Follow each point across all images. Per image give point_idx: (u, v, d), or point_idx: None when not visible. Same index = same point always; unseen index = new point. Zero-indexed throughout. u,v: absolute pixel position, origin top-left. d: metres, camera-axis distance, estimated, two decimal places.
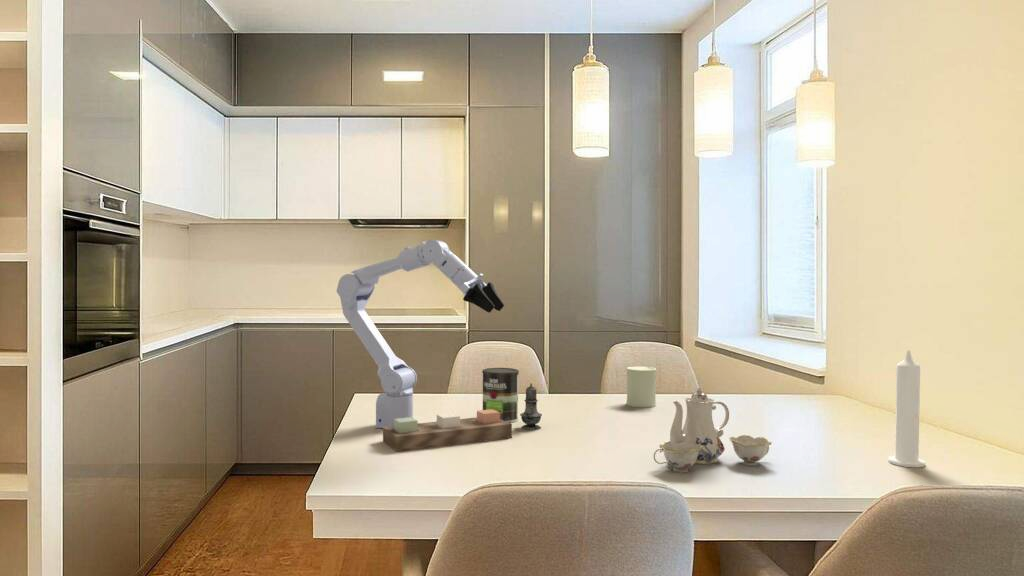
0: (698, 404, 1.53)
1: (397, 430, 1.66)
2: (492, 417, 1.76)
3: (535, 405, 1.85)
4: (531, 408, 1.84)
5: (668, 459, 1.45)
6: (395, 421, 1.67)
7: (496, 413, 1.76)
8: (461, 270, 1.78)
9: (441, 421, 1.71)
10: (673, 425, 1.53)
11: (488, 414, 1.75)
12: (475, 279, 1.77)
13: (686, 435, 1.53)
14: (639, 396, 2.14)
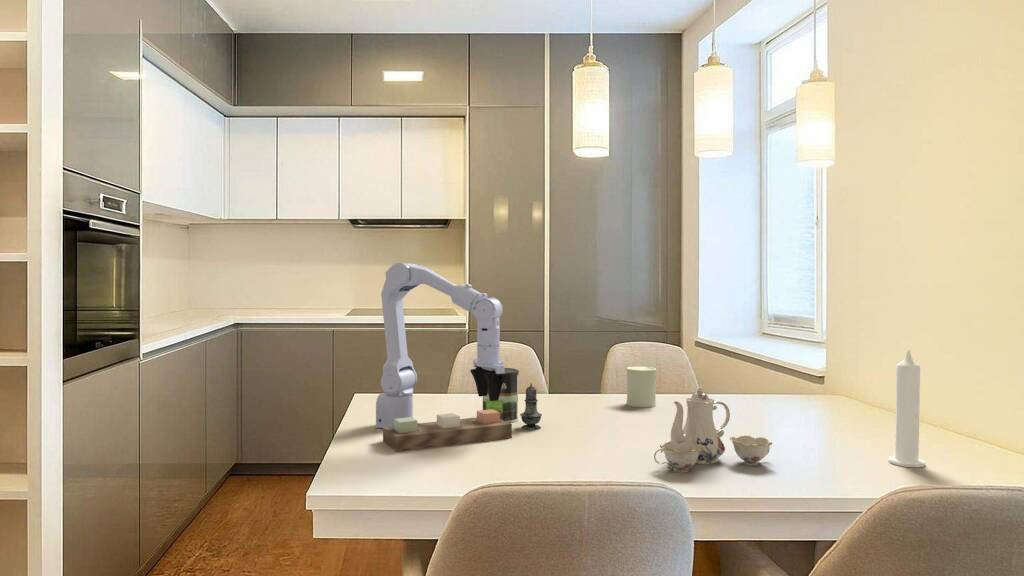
0: (699, 404, 1.52)
1: (397, 430, 1.66)
2: (492, 417, 1.76)
3: (535, 405, 1.85)
4: (531, 408, 1.84)
5: (669, 459, 1.45)
6: (395, 421, 1.67)
7: (496, 413, 1.76)
8: (498, 347, 1.76)
9: (441, 421, 1.71)
10: (674, 425, 1.53)
11: (488, 414, 1.75)
12: None
13: (687, 435, 1.53)
14: (639, 396, 2.14)
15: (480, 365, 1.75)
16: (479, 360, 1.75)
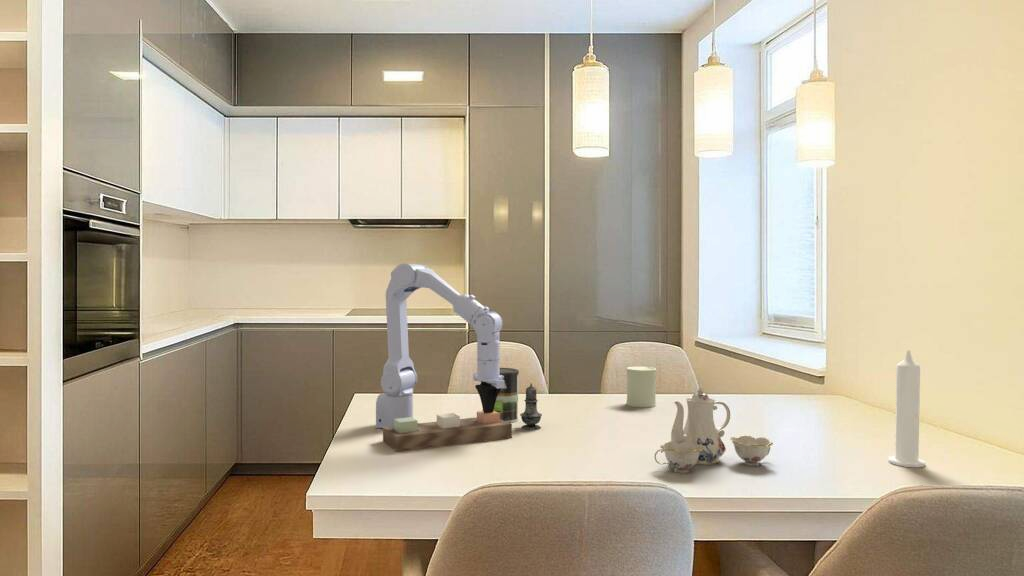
0: (699, 404, 1.52)
1: (397, 430, 1.66)
2: (492, 418, 1.76)
3: (535, 405, 1.85)
4: (531, 408, 1.84)
5: (669, 459, 1.45)
6: (395, 421, 1.67)
7: (496, 414, 1.76)
8: (498, 361, 1.76)
9: (441, 421, 1.71)
10: (674, 425, 1.52)
11: (488, 415, 1.75)
12: (500, 378, 1.76)
13: (687, 436, 1.53)
14: (639, 396, 2.14)
15: (480, 379, 1.75)
16: (479, 374, 1.76)
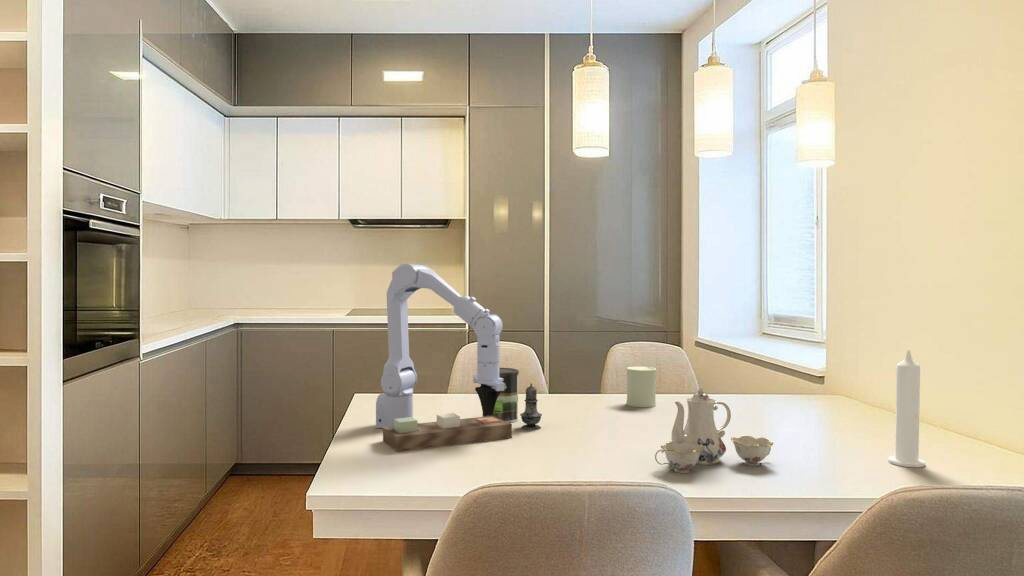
0: (700, 404, 1.52)
1: (397, 430, 1.66)
2: None
3: (535, 405, 1.85)
4: (531, 408, 1.84)
5: (669, 460, 1.45)
6: (395, 421, 1.67)
7: (496, 421, 1.76)
8: (498, 364, 1.76)
9: (441, 421, 1.71)
10: (674, 425, 1.52)
11: (488, 422, 1.75)
12: (500, 381, 1.76)
13: (687, 436, 1.53)
14: (639, 396, 2.14)
15: (480, 382, 1.75)
16: (479, 377, 1.76)
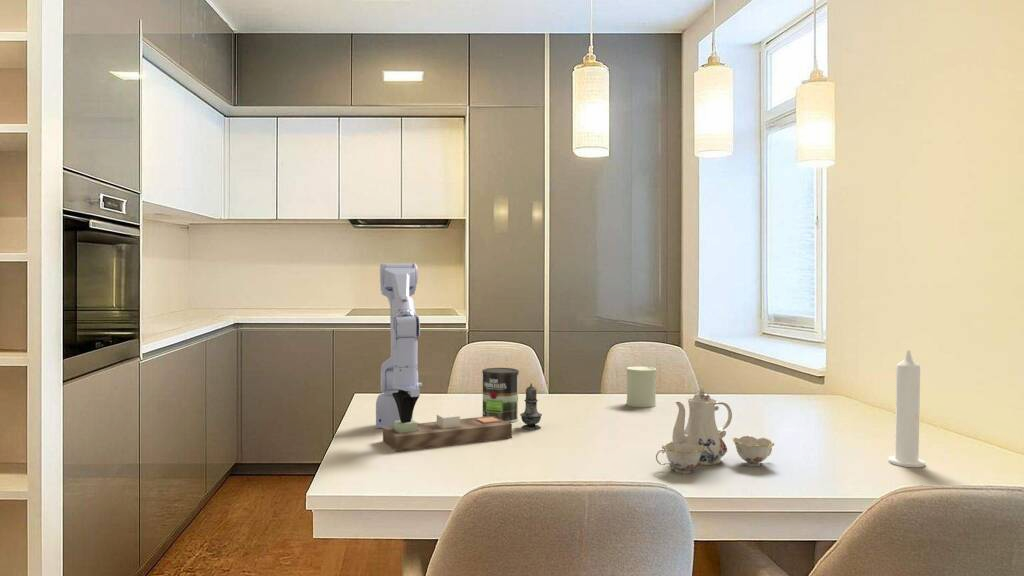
0: (701, 405, 1.52)
1: (397, 432, 1.66)
2: None
3: (535, 405, 1.85)
4: (531, 408, 1.84)
5: (670, 460, 1.45)
6: (395, 423, 1.67)
7: (496, 421, 1.76)
8: (415, 368, 1.66)
9: (441, 421, 1.71)
10: (675, 426, 1.52)
11: (488, 422, 1.75)
12: (418, 386, 1.66)
13: (688, 436, 1.53)
14: (639, 396, 2.14)
15: (396, 387, 1.65)
16: (395, 382, 1.65)
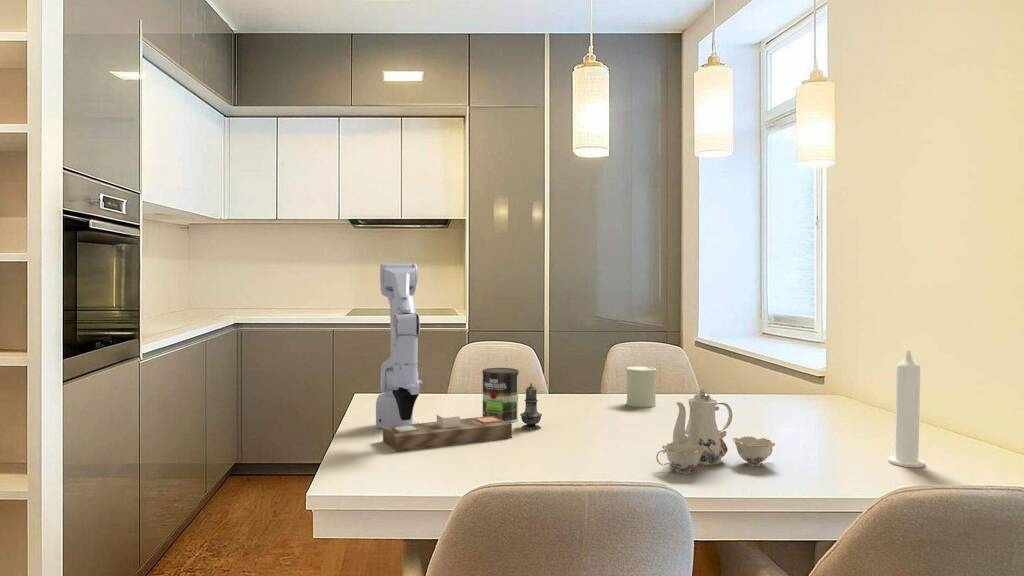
0: (701, 405, 1.52)
1: None
2: None
3: (535, 405, 1.85)
4: (531, 408, 1.84)
5: (671, 460, 1.44)
6: (395, 430, 1.67)
7: (496, 421, 1.76)
8: (415, 366, 1.66)
9: (441, 421, 1.71)
10: (676, 426, 1.52)
11: (488, 422, 1.75)
12: None
13: (689, 436, 1.52)
14: (639, 396, 2.14)
15: (396, 385, 1.65)
16: (395, 379, 1.65)
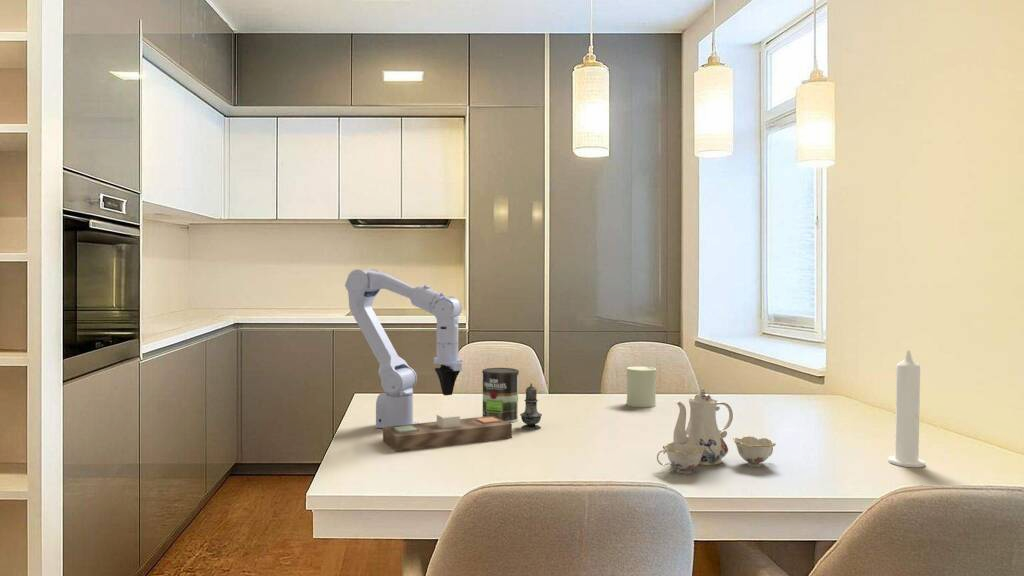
0: (702, 405, 1.52)
1: None
2: None
3: (535, 405, 1.85)
4: (531, 408, 1.84)
5: (671, 460, 1.44)
6: (395, 430, 1.67)
7: (496, 421, 1.76)
8: (456, 345, 1.81)
9: (441, 421, 1.71)
10: (676, 426, 1.52)
11: (488, 422, 1.75)
12: (459, 362, 1.81)
13: (689, 436, 1.52)
14: (639, 396, 2.14)
15: (439, 362, 1.80)
16: (438, 358, 1.80)
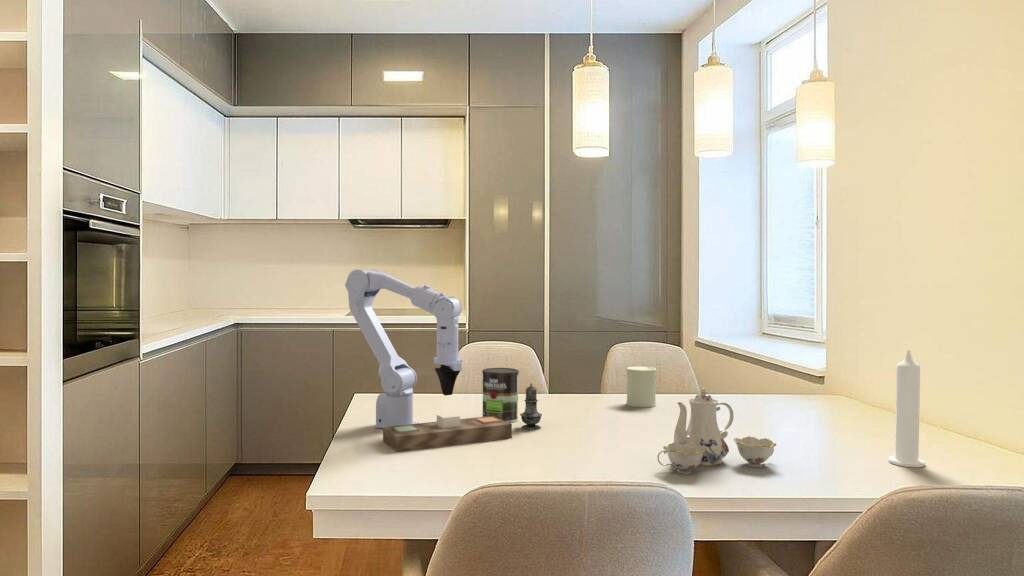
0: (702, 405, 1.51)
1: None
2: None
3: (535, 405, 1.85)
4: (531, 408, 1.84)
5: (672, 461, 1.44)
6: (395, 430, 1.67)
7: (496, 421, 1.76)
8: (456, 345, 1.81)
9: (441, 421, 1.71)
10: (677, 426, 1.52)
11: (488, 422, 1.75)
12: (459, 362, 1.81)
13: (690, 437, 1.52)
14: (639, 396, 2.14)
15: (439, 362, 1.80)
16: (438, 358, 1.80)
